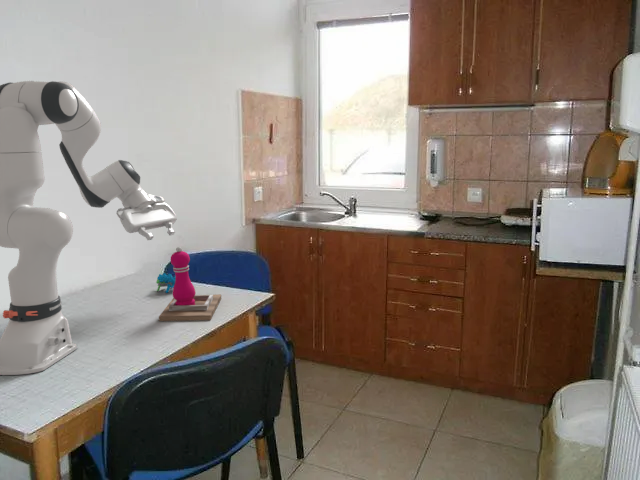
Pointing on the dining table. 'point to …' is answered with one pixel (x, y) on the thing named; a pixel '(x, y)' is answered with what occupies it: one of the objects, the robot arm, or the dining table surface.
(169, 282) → the toy dinosaur
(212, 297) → the walnut board
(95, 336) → the dining table surface
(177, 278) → the pepper mill
